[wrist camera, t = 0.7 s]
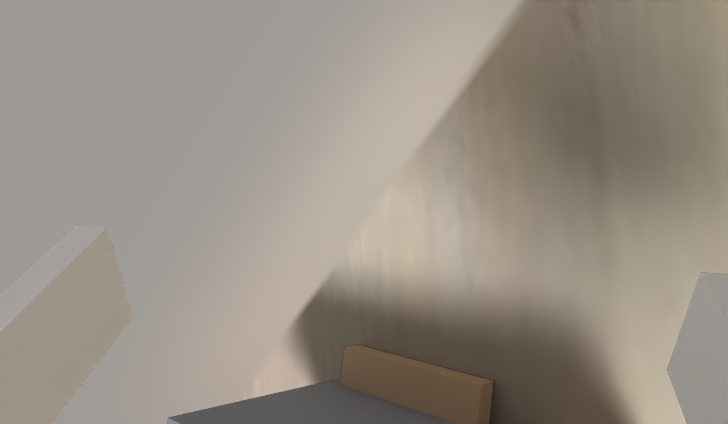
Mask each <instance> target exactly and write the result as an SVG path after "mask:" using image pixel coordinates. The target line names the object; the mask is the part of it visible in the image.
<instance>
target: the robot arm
mask: <svg viewBox="0 0 728 424" xmlns="http://www.w3.org/2000/svg"><path fill="white" fill-rule="evenodd" d="M133 316H134V314H133V311H132V307H131V304H130V301H129V298H128V295H127V291H126V288H125V285H124V282H123V278H122V275H121V272H120V269H119V266H118V262H117V259H116V256H115V252H114V249H113V246H112V243H111V240H110V237H109V233H108V230H107V227H99V226H86V225H77V226H76V227H75V228H74V229H72V231H70V232H69V233H68V234H67V235H66V236H65V237H64V238H63V239H62V240H60V241H59V243H57V244H56V245H55V246H54V247H53V248H52V249H50V250H49V251H48V252H47V253H46V254H45V255H44V256H43V257H42V258H41V259H39V261H37V262H36V263H35V264H34V265H33V266H32V267H31V268H30V269H28V270H27V271H26V272H25V273H24V274H23V275H22V276H21V277H20V278H19V279H17V280H16V281H15V282H14V283H13V284H12V285H11V286H10V287H9V288H8V289H6V290H5V291H4V292H3V293H2V294H1V295H0V424H52V422H53V421H54V420H55V418H56V417H57V416H58V414H59V413H60V412H61V410H62V409H63V408H64V406H65V405H66V404H67V403H68V401H69V400H70V399H71V397H72V396H73V395H74V393H75V392H76V391H77V389H78V388H79V387H80V386H81V384H82V383H83V382H84V380H85V379H86V378H87V376H88V375H89V374H90V372H91V371H92V370H93V368H94V367H95V366H96V364H97V363H98V362H99V360H100V359H101V358H102V356H103V355H104V354H105V353H106V351H107V350H108V349H109V347H110V346H111V345H112V343H113V342H114V341H115V339H116V338H117V337H118V335H119V334H120V333H121V331H122V330H123V329H124V327H125V326H126V325H127V324H128V322H129V321H130V320H131V318H132V317H133ZM667 371H668V374H669V376H670V379H671V382H672V384H673V387H674V390H675V393H676V395H677V398H678V401H679V404H680V406H681V409H682V412H683V414H684V417H685V420H686V423H687V424H728V274H716V273H703V272H701V273H700V276H699V279H698V282H697V285H696V288H695V291H694V293H693V296H692V299H691V302H690V305H689V308H688V311H687V313H686V316H685V319H684V322H683V325H682V328H681V331H680V334H679V336H678V339H677V342H676V345H675V348H674V351H673V354H672V357H671V359H670V362H669V365H668V368H667Z"/></svg>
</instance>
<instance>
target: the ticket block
mask: <svg viewBox="0 0 728 424" xmlns="http://www.w3.org/2000/svg"><path fill="white" fill-rule="evenodd" d="M493 382H494V381H492V380H488V379H484V378H481V377H477V376H473V375H469V374H466V373H462V372H458V371H455V370H451V369H447V368H443V367H440V366H436V365H432V364H429V363H425V362H421V361H417V360H414V359H410V358H406V357H402V356H399V355H395V354H391V353H388V352H384V351H380V350H376V349H373V348H369V347H365V346H361V345H355V346H349V347H344V355H343V365H342V374H341V379H336V380H332V381H327V382H323V383H319V384H314V385H310V386H305V387H301V388H296V389H292V390H288V391H283V392H279V393H274V394H270V395H266V396H261V397H257V398H252V399H248V400H243V401H239V402H235V403H230V404H226V405H221V406H217V407H213V408H209V409H204V410H199V411H195V412H190V413H186V414H182V415H177V416H173V417H168V420H167V424H489V423H490V413H491V402H492V392H493Z"/></svg>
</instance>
